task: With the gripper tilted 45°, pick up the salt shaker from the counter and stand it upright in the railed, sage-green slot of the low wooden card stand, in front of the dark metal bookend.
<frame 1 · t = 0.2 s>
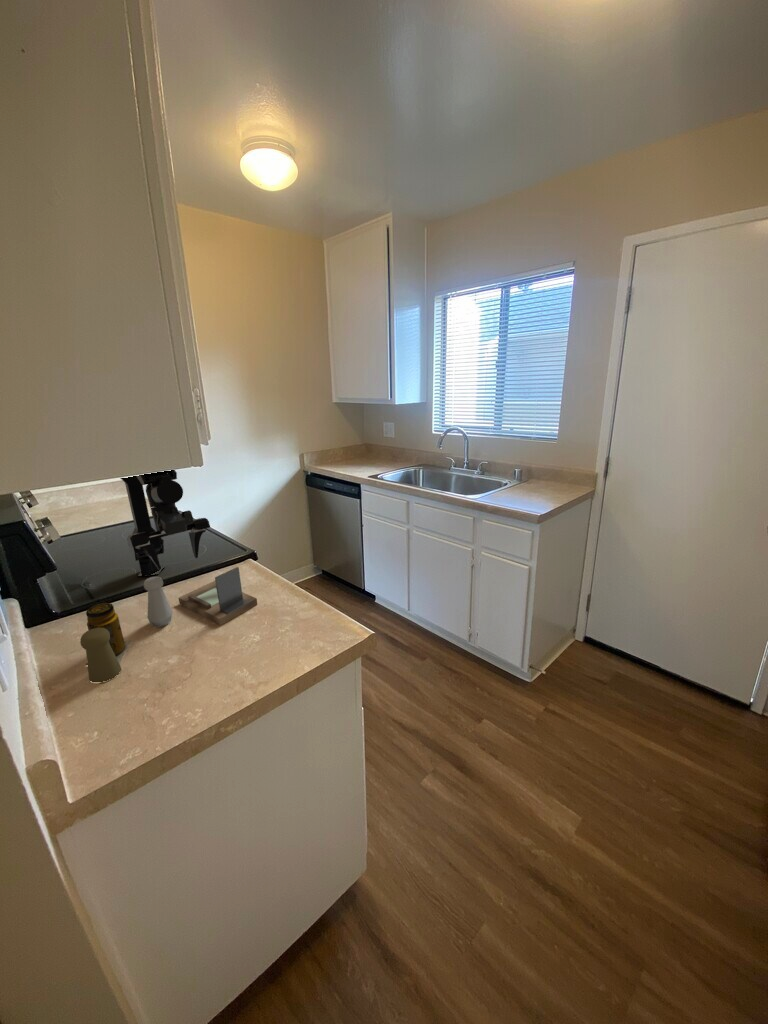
hand: (178, 563, 108), 15 cm above the counter, tool tilted 15°, fingers open, 9 cm apart
salt shaker: (162, 623, 109), on the counter
cork: (105, 674, 91), on the counter
condiment: (109, 654, 97), on the counter
wooden card stand: (215, 602, 118), on the counter
bookend: (231, 604, 113), resting on wooden card stand
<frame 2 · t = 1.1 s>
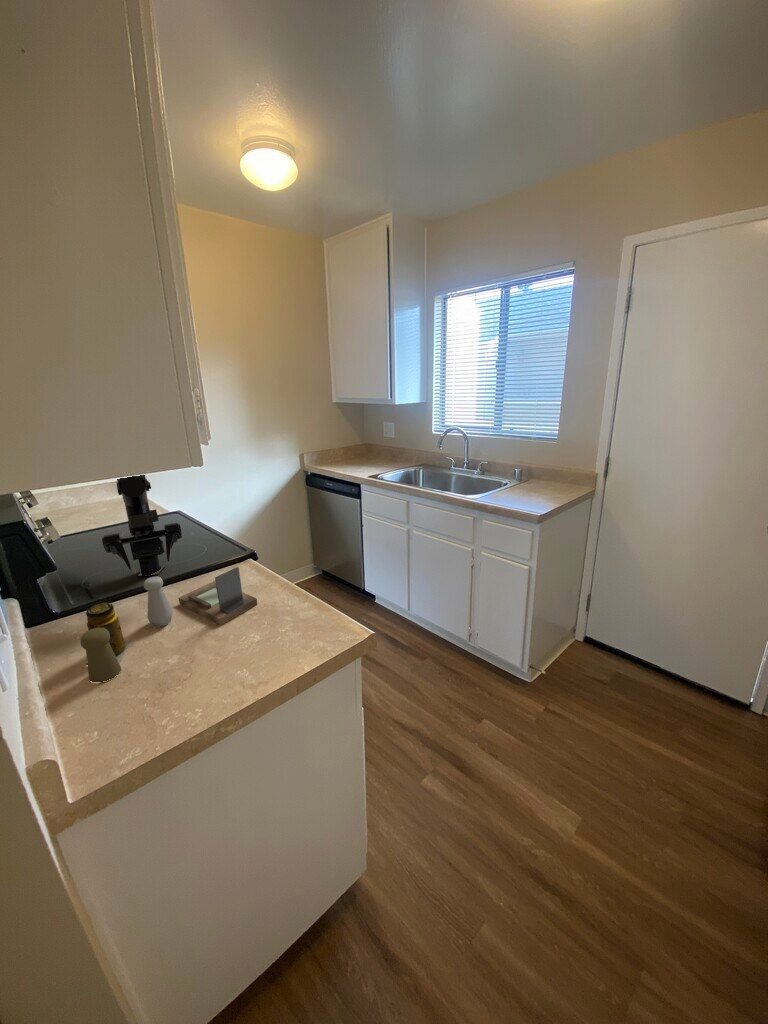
hand: (149, 565, 111), 13 cm above the counter, tool tilted 45°, fingers open, 9 cm apart
nothing on the counter moved.
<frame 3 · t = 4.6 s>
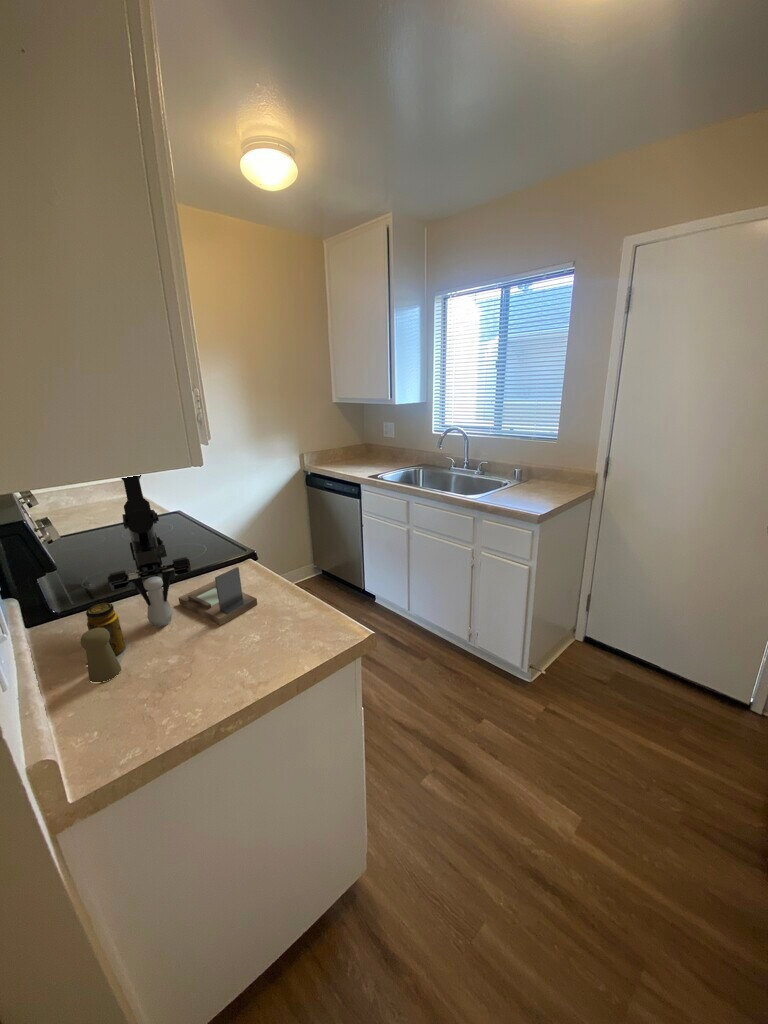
hand: (157, 603, 105), 7 cm above the counter, tool tilted 45°, fingers closed on salt shaker, 3 cm apart
salt shaker: (162, 623, 109), on the counter, touching gripper
everything else where it was.
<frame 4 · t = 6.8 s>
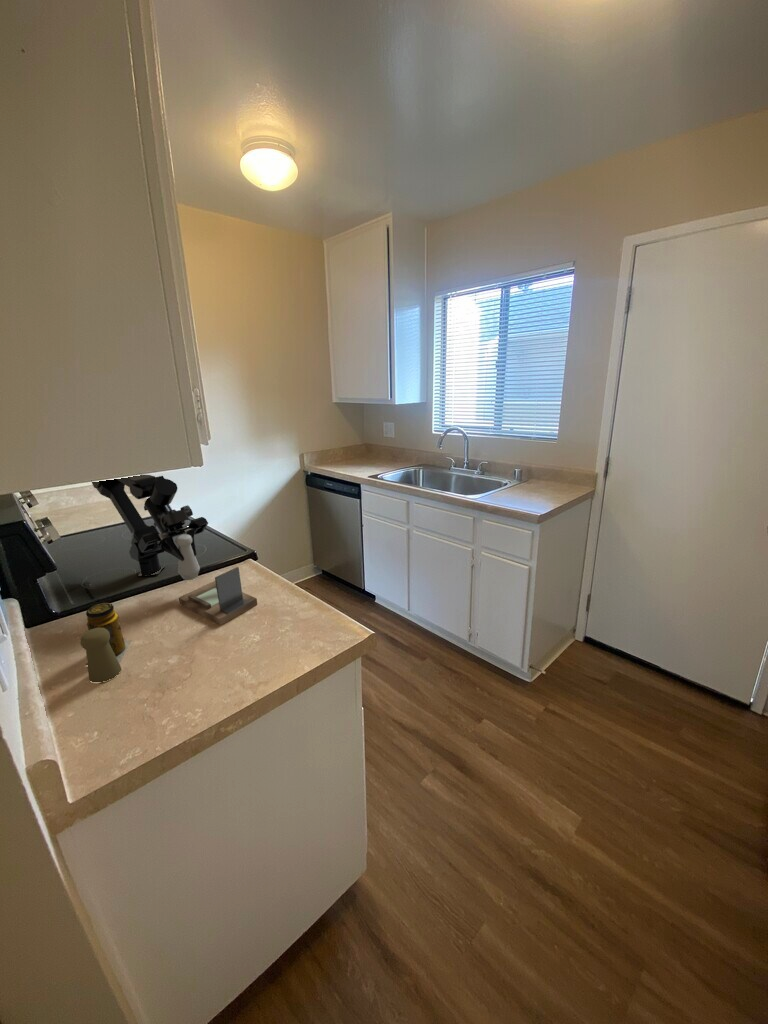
hand: (189, 557, 118), 12 cm above the counter, tool tilted 45°, fingers closed on salt shaker, 3 cm apart
salt shaker: (190, 577, 121), point 5 cm above the counter, touching gripper
everything else where it was.
when the fingers open (10 cm above the counter, at t = 9.5 s): salt shaker drops 1 cm, resting on wooden card stand.
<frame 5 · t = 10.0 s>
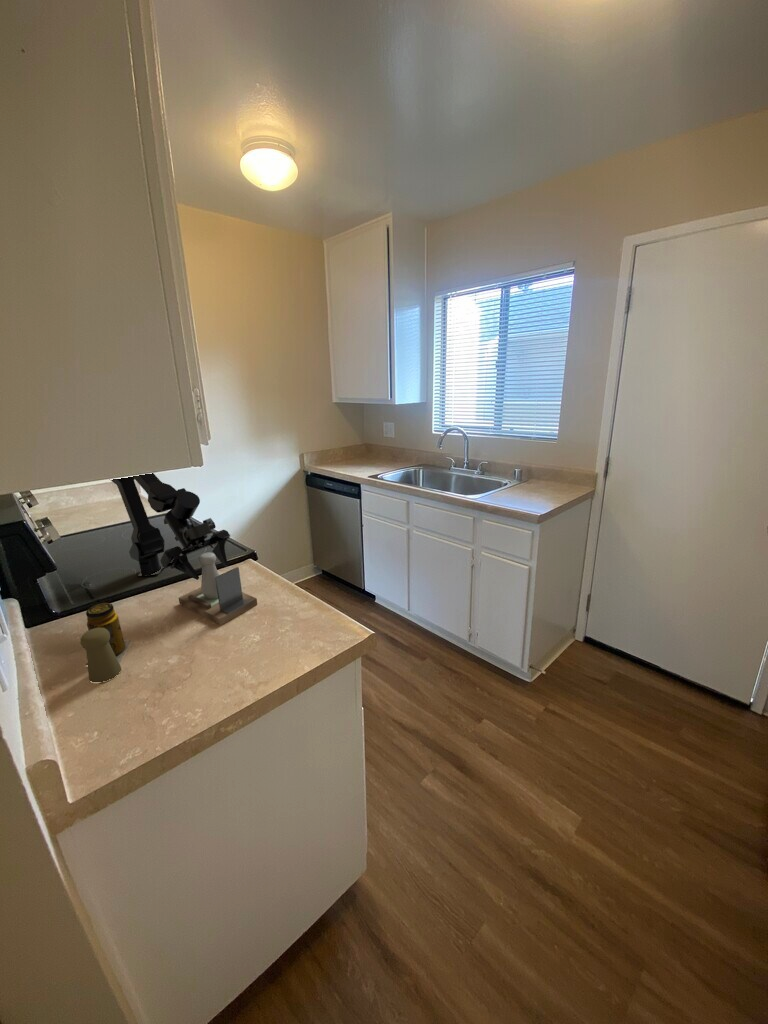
hand: (212, 572, 114), 10 cm above the counter, tool tilted 45°, fingers open, 9 cm apart
salt shaker: (213, 596, 117), point 2 cm above the counter, touching wooden card stand
everything else where it was.
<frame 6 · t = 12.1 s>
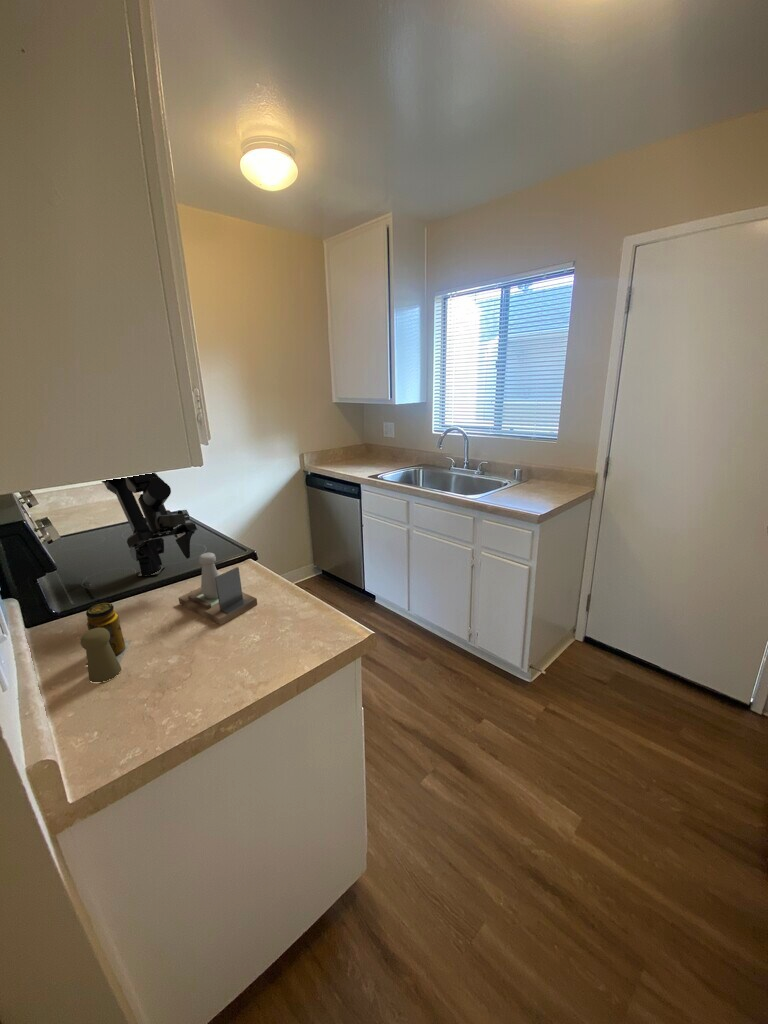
hand: (174, 561, 117), 11 cm above the counter, tool tilted 30°, fingers open, 9 cm apart
nothing on the counter moved.
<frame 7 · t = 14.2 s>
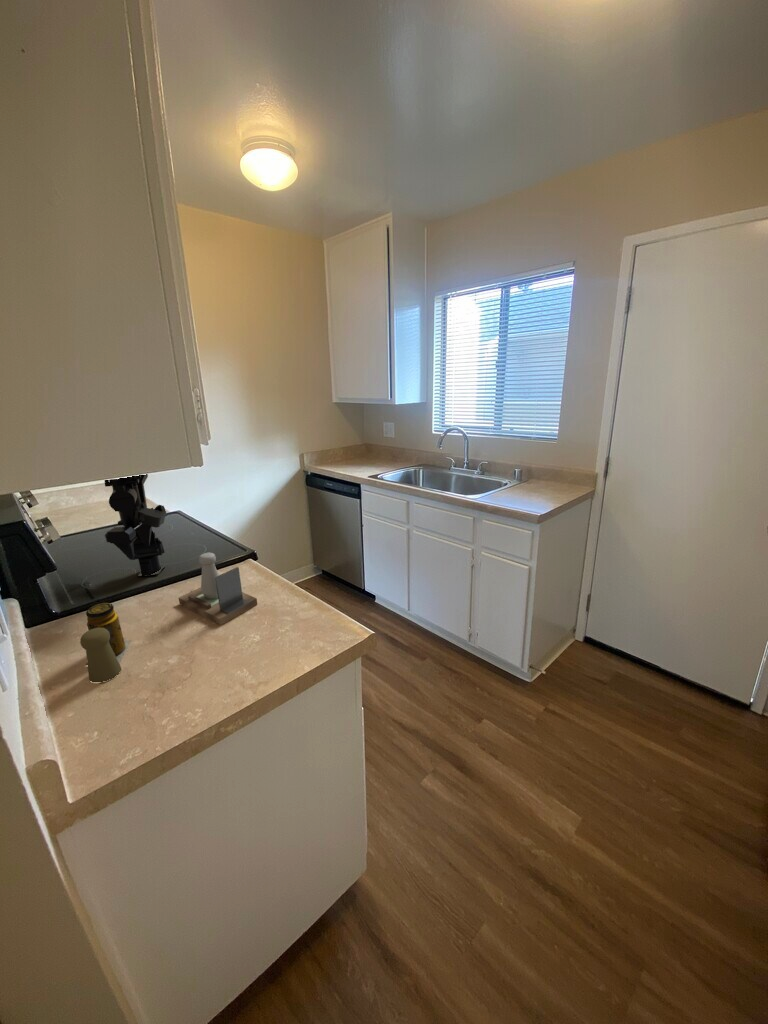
hand: (140, 552, 120), 13 cm above the counter, tool pointing down, fingers open, 9 cm apart
nothing on the counter moved.
at the end: salt shaker 0.3 cm off-centre on the wooden card stand, point 1.9 cm above the wooden card stand's base; salt shaker tilted 0°; the gripper is holding nothing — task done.
